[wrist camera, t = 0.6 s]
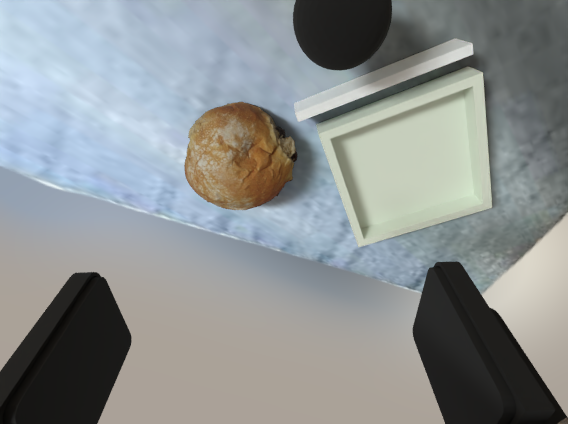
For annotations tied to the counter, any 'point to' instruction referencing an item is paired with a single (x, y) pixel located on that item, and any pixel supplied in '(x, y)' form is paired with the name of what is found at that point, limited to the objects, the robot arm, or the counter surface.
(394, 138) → the dish
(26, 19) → the counter surface
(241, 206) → the bread roll
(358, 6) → the light bulb
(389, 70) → the white flat bar
